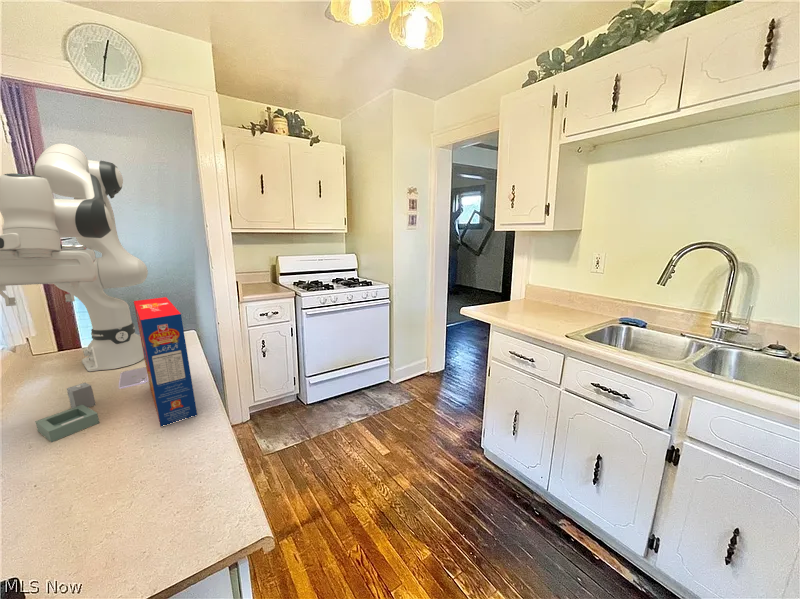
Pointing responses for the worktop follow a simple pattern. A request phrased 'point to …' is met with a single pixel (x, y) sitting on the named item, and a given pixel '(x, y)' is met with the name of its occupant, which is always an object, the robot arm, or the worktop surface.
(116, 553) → the worktop surface
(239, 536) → the worktop surface
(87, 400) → the block
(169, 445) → the worktop surface
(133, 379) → the mobile phone
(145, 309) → the pasta box
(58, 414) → the green square tray
